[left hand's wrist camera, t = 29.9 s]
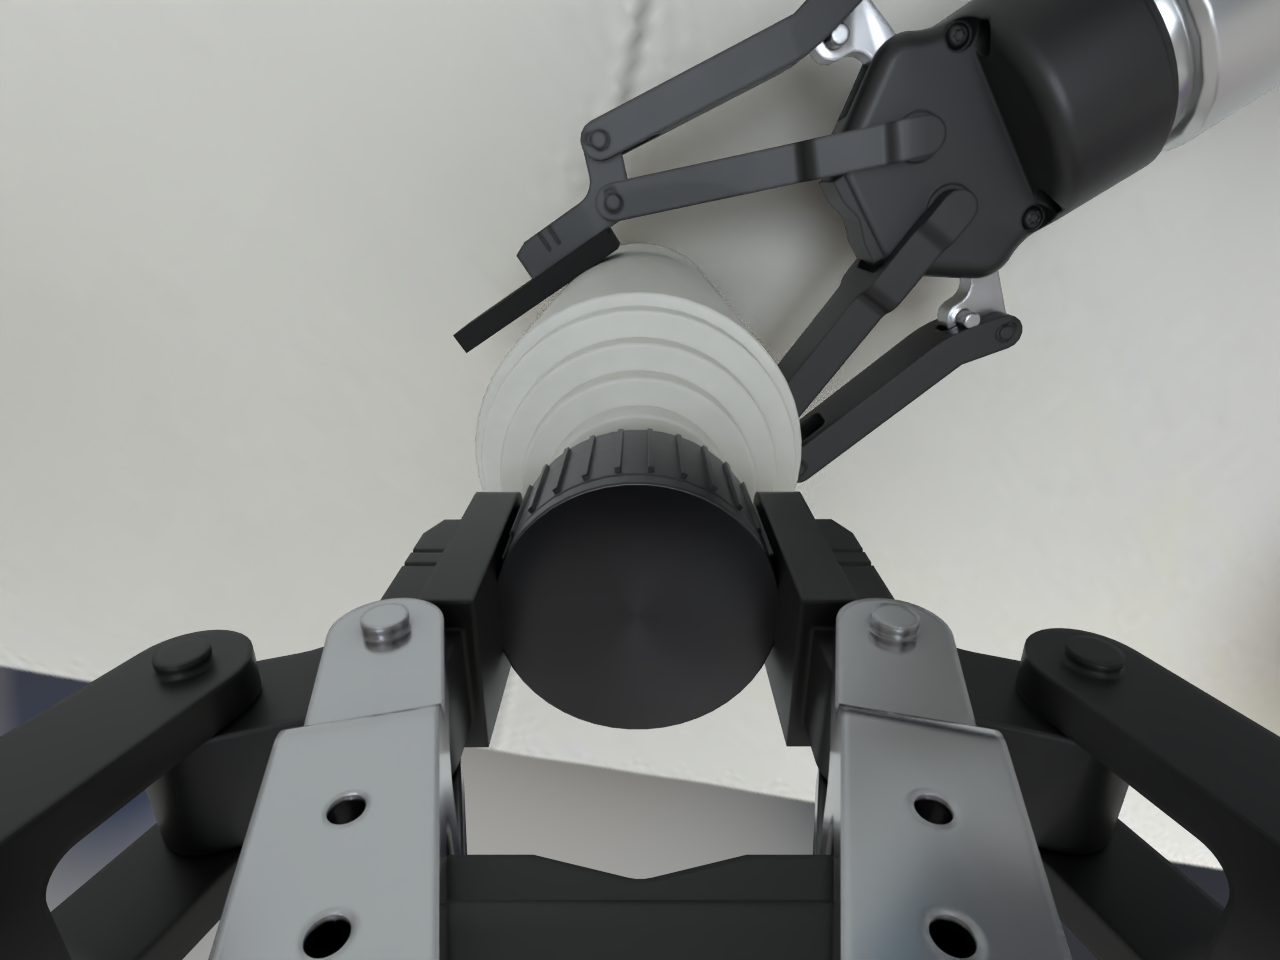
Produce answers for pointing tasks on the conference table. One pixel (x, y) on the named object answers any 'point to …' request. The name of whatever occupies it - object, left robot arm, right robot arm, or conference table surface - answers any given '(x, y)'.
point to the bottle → (639, 376)
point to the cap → (637, 582)
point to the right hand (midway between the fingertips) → (533, 423)
